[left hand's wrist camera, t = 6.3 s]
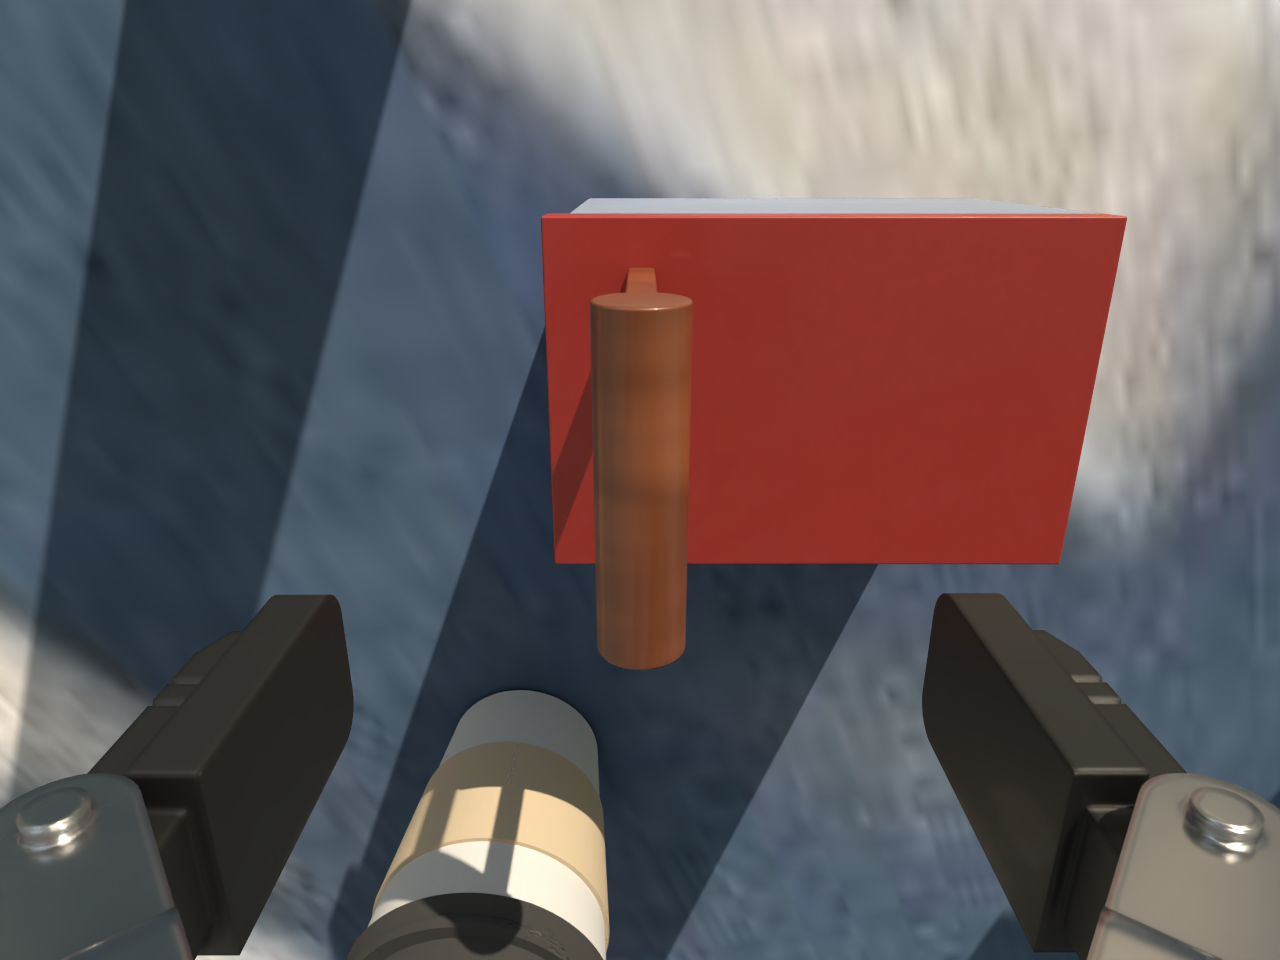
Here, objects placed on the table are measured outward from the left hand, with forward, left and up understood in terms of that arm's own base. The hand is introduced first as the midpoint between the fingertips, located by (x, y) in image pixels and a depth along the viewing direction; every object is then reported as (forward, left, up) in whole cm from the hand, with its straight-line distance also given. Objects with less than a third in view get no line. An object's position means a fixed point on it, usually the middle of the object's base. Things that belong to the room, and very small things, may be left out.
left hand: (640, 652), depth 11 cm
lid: (-3, +4, -14) cm, 15 cm away
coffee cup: (+18, +10, -23) cm, 31 cm away
